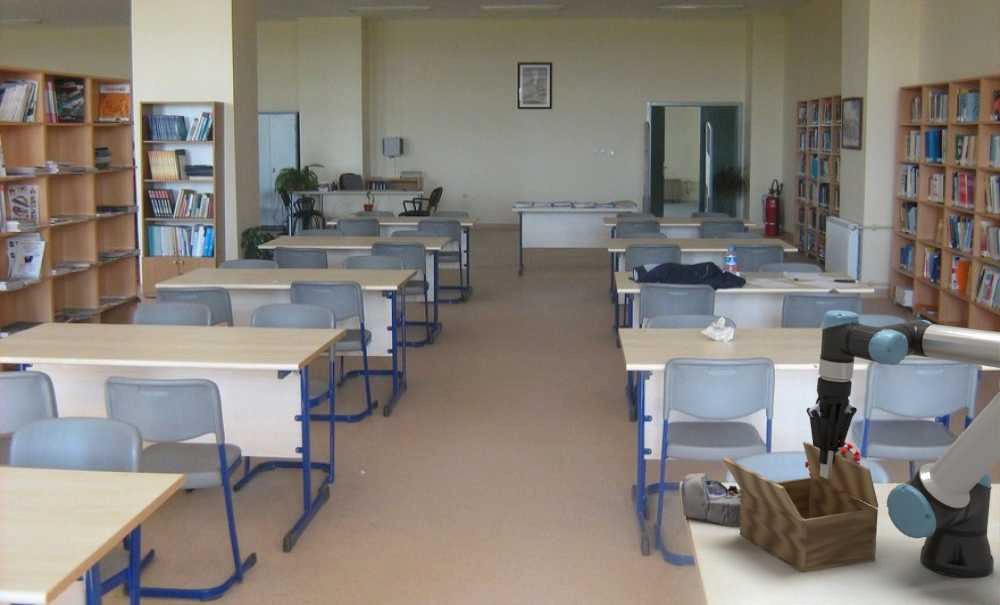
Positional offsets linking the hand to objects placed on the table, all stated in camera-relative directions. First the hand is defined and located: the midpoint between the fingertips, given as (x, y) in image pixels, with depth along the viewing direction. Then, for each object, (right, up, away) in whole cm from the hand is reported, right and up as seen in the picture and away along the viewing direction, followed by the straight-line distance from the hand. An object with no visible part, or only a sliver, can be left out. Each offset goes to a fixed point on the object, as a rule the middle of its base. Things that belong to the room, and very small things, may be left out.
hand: (825, 477), depth 255 cm
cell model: (-20, -14, +20) cm, 32 cm away
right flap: (+3, 0, +2) cm, 4 cm away
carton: (-4, -17, +1) cm, 17 cm away
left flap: (-16, -1, -6) cm, 17 cm away
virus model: (+13, -11, +38) cm, 41 cm away
